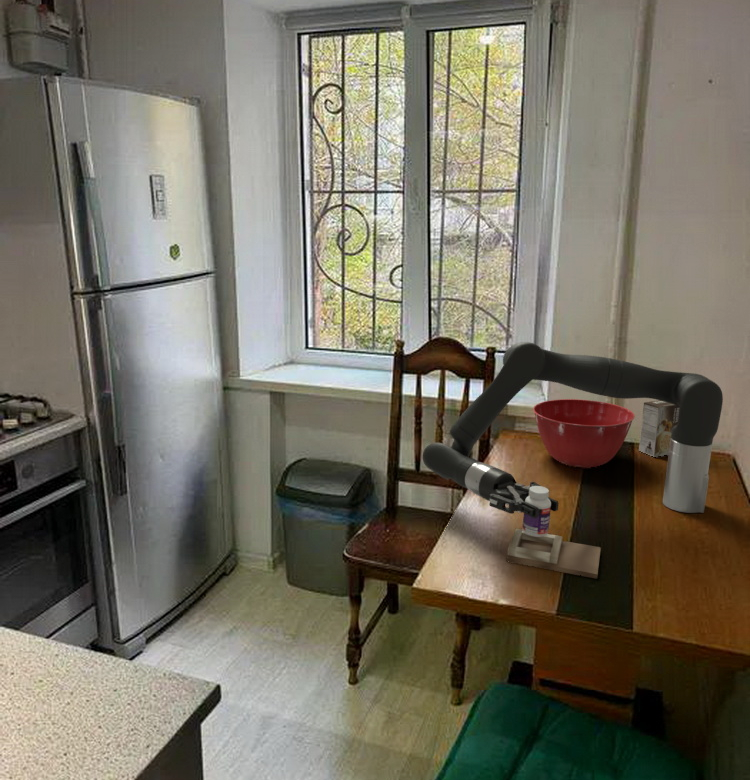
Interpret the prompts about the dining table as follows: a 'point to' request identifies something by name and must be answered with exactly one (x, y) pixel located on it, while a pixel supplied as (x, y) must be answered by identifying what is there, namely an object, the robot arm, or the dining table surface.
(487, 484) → the robot arm
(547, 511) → the pill bottle
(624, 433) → the mixing bowl
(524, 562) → the socket board
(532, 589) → the dining table surface
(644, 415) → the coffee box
